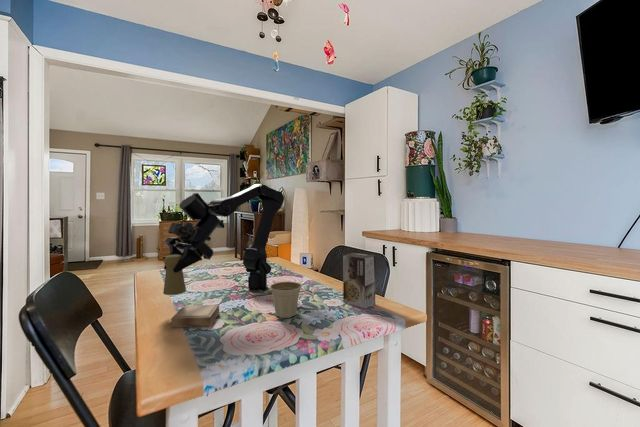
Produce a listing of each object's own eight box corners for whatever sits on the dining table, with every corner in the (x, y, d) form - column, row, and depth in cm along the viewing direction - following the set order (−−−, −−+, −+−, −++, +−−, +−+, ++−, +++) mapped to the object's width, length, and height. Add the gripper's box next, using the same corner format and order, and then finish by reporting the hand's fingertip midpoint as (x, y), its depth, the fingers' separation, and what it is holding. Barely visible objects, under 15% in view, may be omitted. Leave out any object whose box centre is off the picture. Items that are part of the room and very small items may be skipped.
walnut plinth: (219, 312, 91) (219, 304, 91) (210, 326, 81) (210, 316, 81) (184, 313, 90) (184, 305, 90) (171, 327, 80) (171, 317, 80)
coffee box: (376, 304, 99) (376, 255, 99) (364, 309, 94) (365, 257, 94) (353, 298, 105) (354, 252, 105) (342, 302, 101) (342, 254, 100)
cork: (177, 295, 86) (176, 257, 86) (158, 294, 87) (157, 256, 87) (190, 289, 92) (189, 253, 92) (172, 288, 93) (171, 252, 92)
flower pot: (275, 323, 83) (275, 292, 83) (265, 311, 92) (265, 283, 91) (306, 317, 88) (306, 287, 87) (294, 307, 96) (294, 280, 96)
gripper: (169, 212, 97) (133, 250, 89) (203, 213, 86) (165, 258, 78) (193, 234, 104) (161, 272, 95) (227, 238, 93) (194, 281, 84)
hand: (169, 270), depth 88 cm, fingers closed on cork, 5 cm apart
